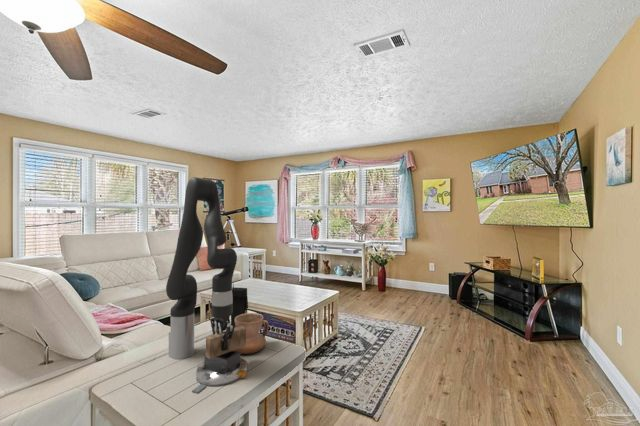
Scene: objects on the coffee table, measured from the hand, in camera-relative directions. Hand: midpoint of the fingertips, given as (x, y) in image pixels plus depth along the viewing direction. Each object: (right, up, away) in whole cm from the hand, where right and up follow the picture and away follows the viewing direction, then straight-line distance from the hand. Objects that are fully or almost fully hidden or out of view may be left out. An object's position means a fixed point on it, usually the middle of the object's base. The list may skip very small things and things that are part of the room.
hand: (221, 348), depth 112 cm
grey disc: (0, -9, 0) cm, 9 cm away
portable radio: (-3, -10, +36) cm, 37 cm away
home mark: (-4, -9, -11) cm, 15 cm away
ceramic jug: (+6, -10, +19) cm, 22 cm away
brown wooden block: (+6, +2, +7) cm, 10 cm away
